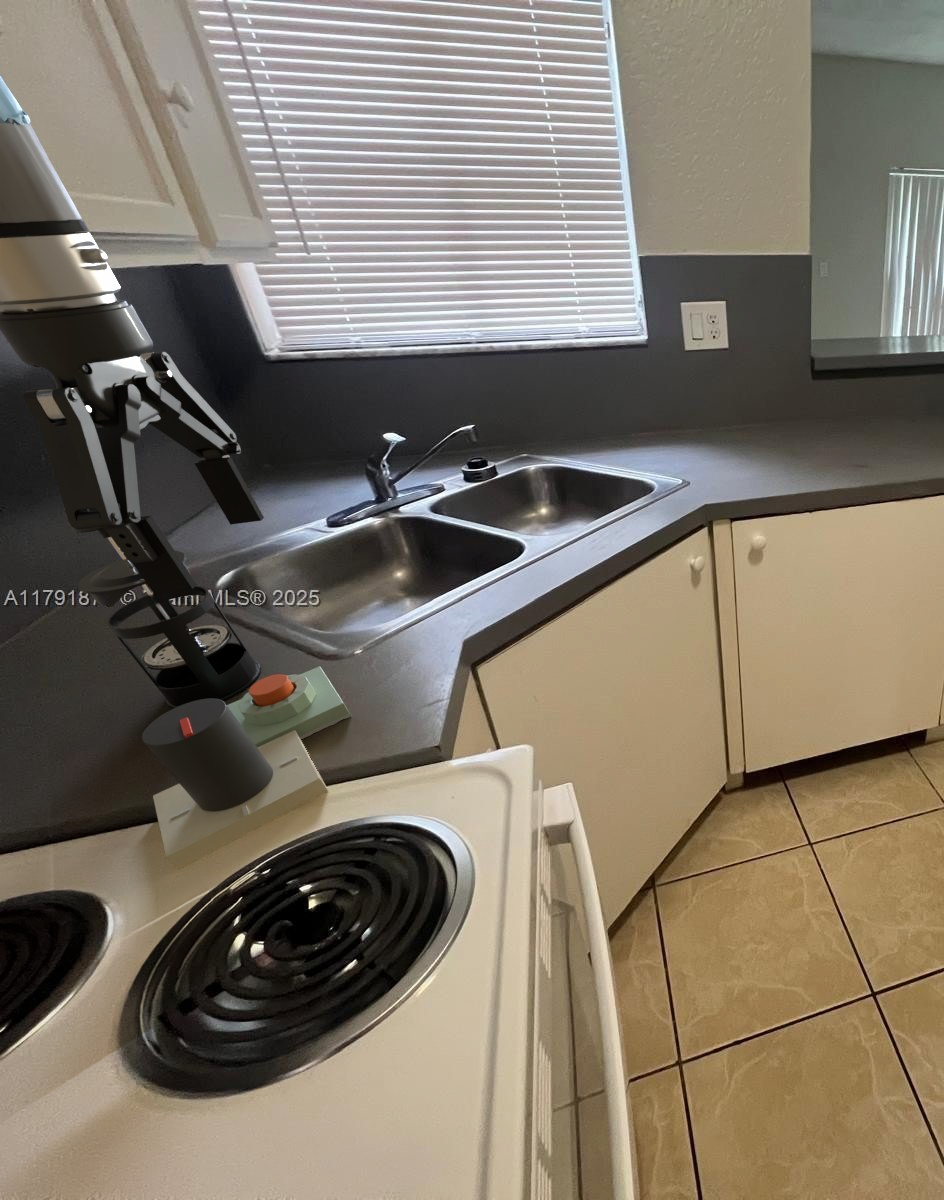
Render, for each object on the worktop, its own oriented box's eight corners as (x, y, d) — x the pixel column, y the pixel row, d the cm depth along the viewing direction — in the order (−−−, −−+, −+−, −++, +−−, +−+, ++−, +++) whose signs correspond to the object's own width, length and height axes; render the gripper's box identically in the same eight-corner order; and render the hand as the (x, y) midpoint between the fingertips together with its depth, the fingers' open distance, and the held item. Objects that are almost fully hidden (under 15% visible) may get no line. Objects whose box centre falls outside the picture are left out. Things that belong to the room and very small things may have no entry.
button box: (230, 721, 73) (211, 695, 71) (327, 679, 79) (313, 654, 77) (248, 766, 67) (228, 739, 65) (351, 716, 73) (336, 691, 71)
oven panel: (164, 808, 63) (151, 793, 62) (303, 742, 70) (293, 728, 69) (178, 871, 57) (164, 856, 56) (329, 791, 64) (319, 777, 63)
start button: (253, 696, 71) (245, 685, 70) (290, 681, 73) (283, 669, 72) (260, 711, 69) (252, 699, 68) (298, 695, 71) (291, 683, 70)
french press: (272, 683, 78) (164, 517, 66) (177, 725, 73) (38, 552, 60) (247, 647, 85) (144, 490, 72) (158, 683, 79) (28, 519, 66)
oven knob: (193, 788, 62) (136, 720, 57) (266, 754, 66) (218, 687, 61) (203, 822, 59) (143, 753, 53) (279, 784, 62) (229, 716, 57)
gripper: (-7, 327, 37) (193, 618, 49) (202, 280, 57) (309, 494, 69) (-169, 338, 36) (78, 636, 48) (104, 285, 56) (230, 503, 68)
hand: (215, 552), depth 58 cm, fingers open, 13 cm apart
